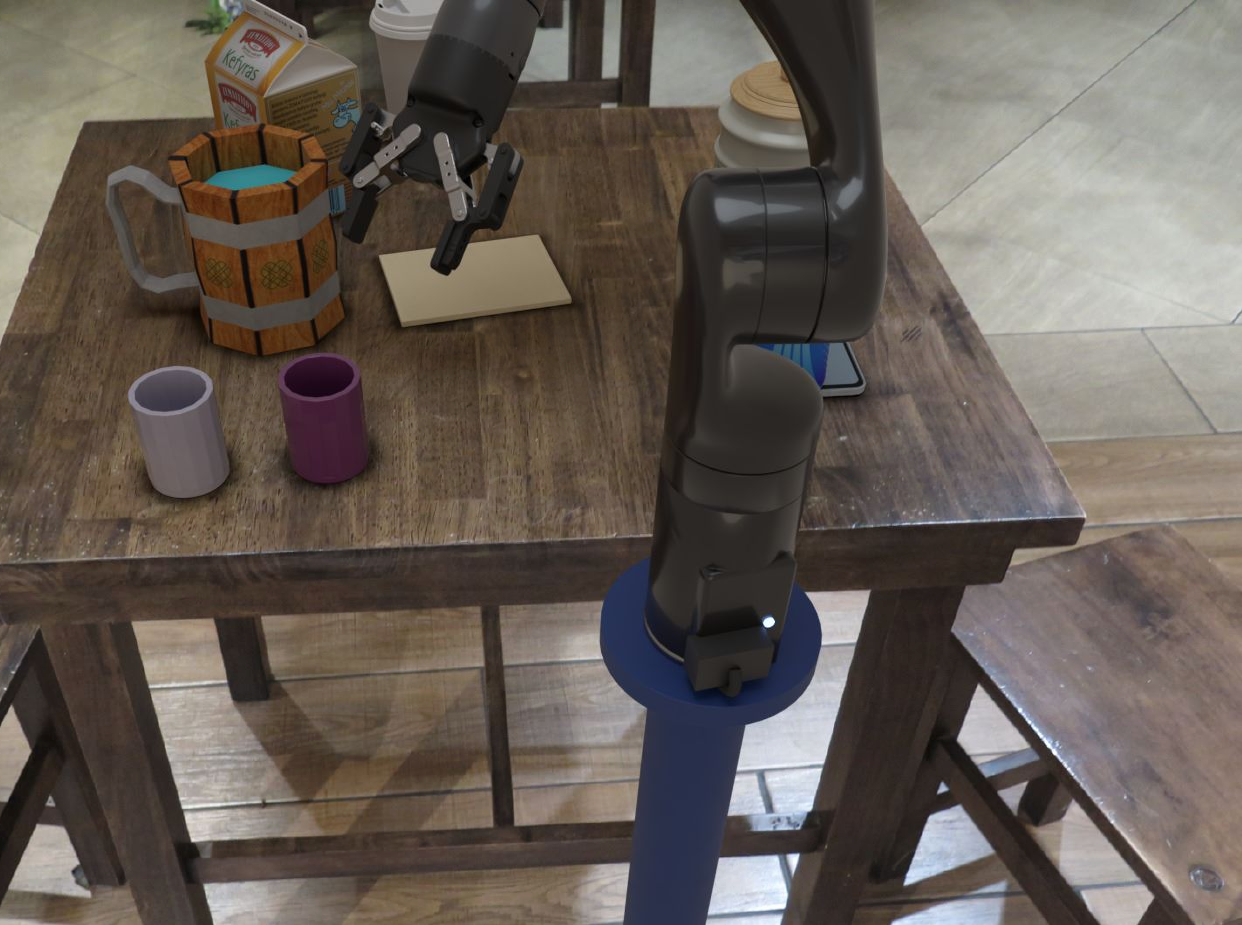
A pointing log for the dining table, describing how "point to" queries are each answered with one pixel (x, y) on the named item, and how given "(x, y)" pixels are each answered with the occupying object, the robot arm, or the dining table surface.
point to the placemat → (474, 281)
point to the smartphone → (842, 372)
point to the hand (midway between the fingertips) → (394, 256)
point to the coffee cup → (401, 43)
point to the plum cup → (324, 417)
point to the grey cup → (179, 431)
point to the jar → (761, 122)
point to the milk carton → (286, 86)
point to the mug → (248, 236)
